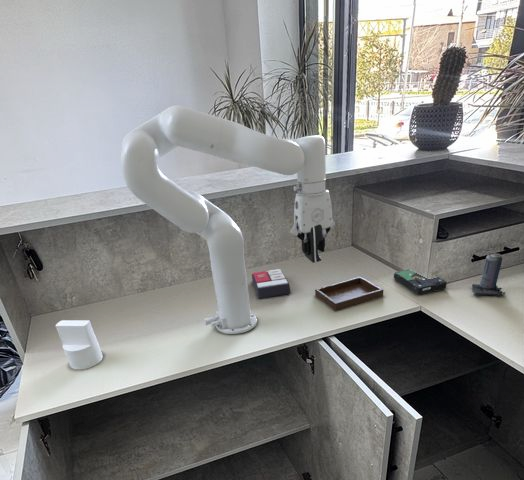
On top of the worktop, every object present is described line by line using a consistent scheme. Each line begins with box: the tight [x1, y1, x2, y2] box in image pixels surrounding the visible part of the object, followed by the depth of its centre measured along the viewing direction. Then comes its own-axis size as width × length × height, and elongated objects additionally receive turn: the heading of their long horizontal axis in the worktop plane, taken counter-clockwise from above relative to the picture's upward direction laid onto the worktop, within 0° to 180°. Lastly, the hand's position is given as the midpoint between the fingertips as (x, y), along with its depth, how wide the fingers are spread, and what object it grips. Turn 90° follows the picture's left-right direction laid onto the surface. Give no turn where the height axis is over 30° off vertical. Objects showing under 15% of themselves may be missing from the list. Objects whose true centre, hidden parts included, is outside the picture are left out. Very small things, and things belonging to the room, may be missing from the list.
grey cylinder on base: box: [471, 252, 506, 297], centre depth 132 cm, size 9×8×12 cm
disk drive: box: [393, 268, 447, 296], centre depth 144 cm, size 10×3×15 cm
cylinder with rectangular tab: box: [55, 319, 104, 370], centre depth 120 cm, size 9×9×12 cm
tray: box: [314, 276, 384, 312], centre depth 141 cm, size 18×13×3 cm
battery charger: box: [304, 224, 323, 264], centre depth 125 cm, size 7×4×11 cm, turn 16°
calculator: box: [251, 268, 291, 299], centre depth 152 cm, size 11×4×15 cm
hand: (313, 251), depth 127 cm, fingers closed on battery charger, 4 cm apart
